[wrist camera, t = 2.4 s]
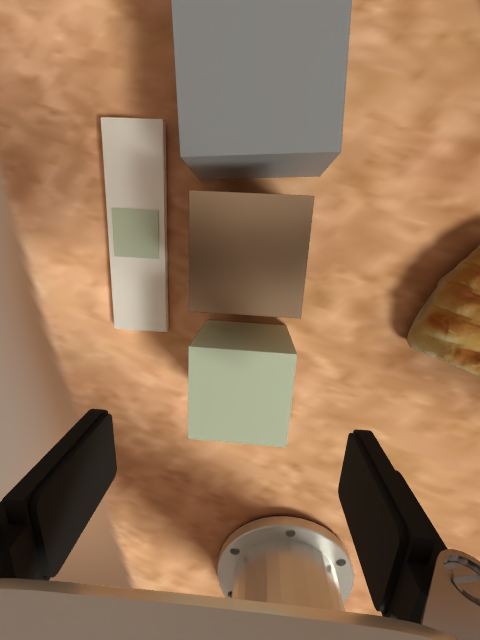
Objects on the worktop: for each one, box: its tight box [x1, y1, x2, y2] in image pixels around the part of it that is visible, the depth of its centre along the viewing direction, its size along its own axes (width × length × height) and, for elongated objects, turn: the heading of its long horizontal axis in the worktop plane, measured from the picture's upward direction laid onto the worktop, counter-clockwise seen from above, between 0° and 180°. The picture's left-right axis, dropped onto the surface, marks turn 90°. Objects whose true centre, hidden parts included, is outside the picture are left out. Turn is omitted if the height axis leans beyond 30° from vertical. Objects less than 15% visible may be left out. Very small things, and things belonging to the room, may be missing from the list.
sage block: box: [188, 320, 297, 447], centre depth 19 cm, size 6×6×6 cm
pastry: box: [407, 245, 480, 376], centre depth 18 cm, size 9×7×4 cm
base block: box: [171, 0, 352, 180], centre depth 15 cm, size 8×8×5 cm
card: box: [101, 117, 169, 332], centre depth 19 cm, size 14×4×1 cm, turn 177°
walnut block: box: [189, 190, 314, 319], centre depth 17 cm, size 6×6×6 cm
